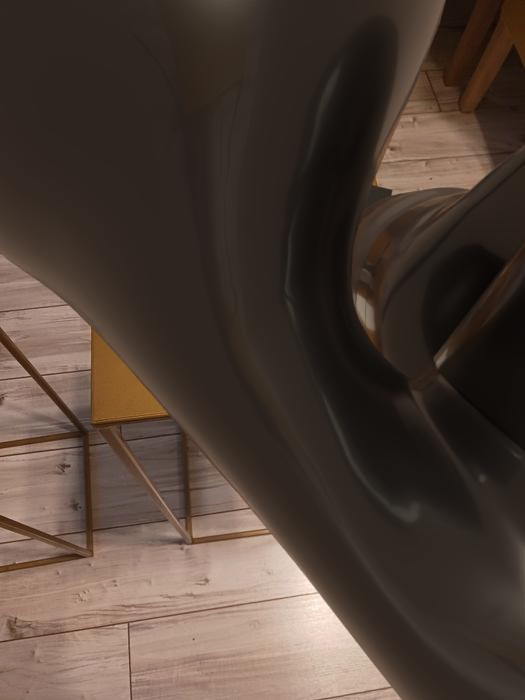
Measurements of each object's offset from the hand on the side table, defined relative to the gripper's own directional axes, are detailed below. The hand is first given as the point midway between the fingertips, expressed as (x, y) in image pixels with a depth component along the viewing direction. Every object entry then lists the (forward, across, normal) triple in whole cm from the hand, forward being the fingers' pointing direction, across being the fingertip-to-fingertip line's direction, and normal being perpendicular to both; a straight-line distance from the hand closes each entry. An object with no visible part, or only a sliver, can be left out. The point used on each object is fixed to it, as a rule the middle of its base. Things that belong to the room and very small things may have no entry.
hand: (373, 252), depth 39 cm
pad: (+16, 0, +2) cm, 16 cm away
